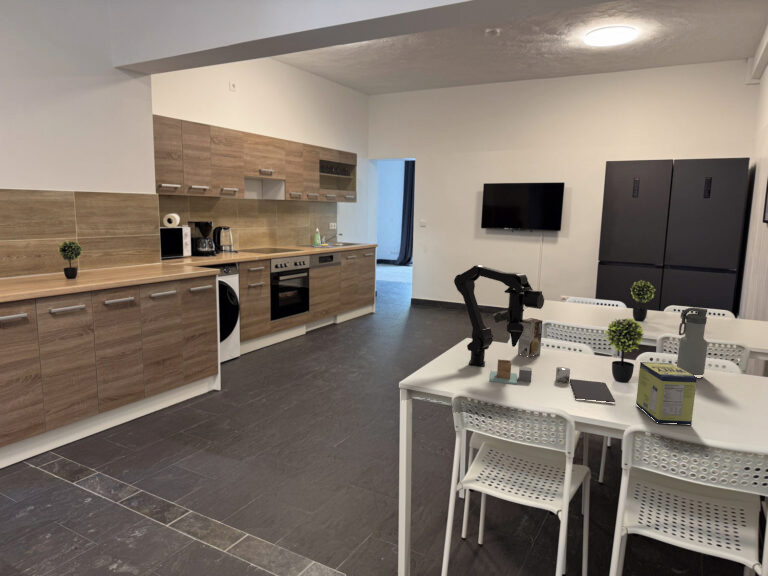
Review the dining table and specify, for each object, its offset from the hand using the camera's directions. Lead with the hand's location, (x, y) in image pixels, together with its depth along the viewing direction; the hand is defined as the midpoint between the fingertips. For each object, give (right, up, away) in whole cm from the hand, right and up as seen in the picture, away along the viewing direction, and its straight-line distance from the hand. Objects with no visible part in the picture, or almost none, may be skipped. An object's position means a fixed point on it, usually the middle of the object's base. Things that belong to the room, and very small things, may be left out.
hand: (513, 343), depth 200 cm
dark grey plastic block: (+3, -13, -6) cm, 15 cm away
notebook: (+23, -16, -18) cm, 34 cm away
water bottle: (+74, -14, +7) cm, 75 cm away
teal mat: (-5, -13, -5) cm, 15 cm away
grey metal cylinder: (+17, -14, -6) cm, 23 cm away
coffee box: (+15, -9, +31) cm, 35 cm away
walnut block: (-5, -12, -5) cm, 14 cm away
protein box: (+38, -19, -38) cm, 57 cm away
